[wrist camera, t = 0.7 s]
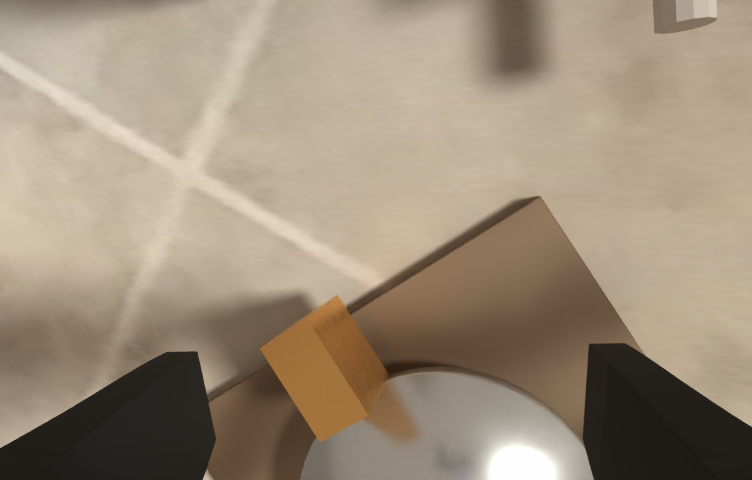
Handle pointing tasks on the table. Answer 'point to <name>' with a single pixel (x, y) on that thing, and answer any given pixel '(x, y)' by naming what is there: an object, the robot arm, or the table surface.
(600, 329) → the flat brown board
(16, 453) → the robot arm
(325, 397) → the disc with block handle
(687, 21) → the pipe connector
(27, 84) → the table surface
